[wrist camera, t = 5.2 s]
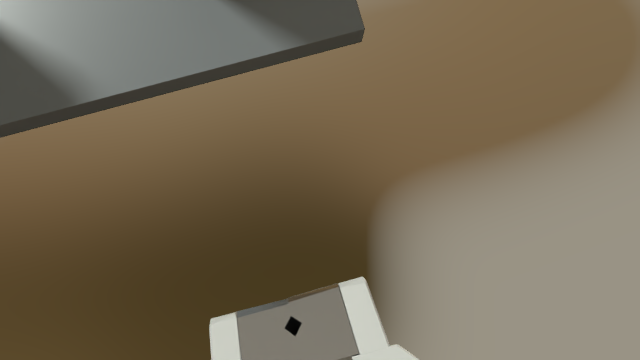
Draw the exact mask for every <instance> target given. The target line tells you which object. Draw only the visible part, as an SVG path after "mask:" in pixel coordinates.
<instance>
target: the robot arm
mask: <svg viewBox="0 0 640 360" xmlns="http://www.w3.org/2000/svg"><path fill="white" fill-rule="evenodd" d="M209 329H210V344H211V359H212V360H419V359H418V358H417V357H415V356H414V355H412V354H411V353H409V352H408V351H407V350H405V349H404V348H403V347H401V346H400V345H398V344H396V345H391V346H390V345H389V342H388V339H387V336H386V334H385V331H384V329H383V325H382V323H381V320H380V317H379V315H378V312H377V309H376V306H375V303H374V301H373V298H372V295H371V292H370V290H369V287H368V284H367V282H366V280H365V279H364V277H360V278H357V279H353V280H349V281H345V282H342V283H339V284H334V285H330V286H327V287H323V288H320V289H316V290H313V291H310V292H306V293H303V294H299V295H296V296H292V297H289V298H288V299H285V300H281V301H277V302H273V303H269V304H266V305H261V306H257V307H253V308H249V309H246V310H242V311H238V312H234V313H231V314H227V315H223V316H219V317H216V318H212V319H211V322H210V326H209Z"/></svg>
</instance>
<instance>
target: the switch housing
mask: <svg viewBox="0 0 640 360" xmlns="http://www.w3.org/2000/svg"><path fill="white" fill-rule="evenodd" d="M364 30H365V28H364V25H363V21H362V18H361V15H360V12H359V8H358V5H357V1H356V0H0V137H4V136H8V135H11V134H15V133H19V132H23V131H26V130H30V129H34V128H38V127H42V126H45V125H49V124H53V123H57V122H61V121H64V120H68V119H72V118H75V117H79V116H83V115H87V114H91V113H95V112H98V111H102V110H106V109H110V108H113V107H117V106H121V105H124V104H128V103H132V102H136V101H140V100H144V99H147V98H151V97H155V96H158V95H162V94H166V93H170V92H173V91H177V90H181V89H185V88H188V87H193V86H196V85H200V84H204V83H208V82H211V81H215V80H219V79H223V78H227V77H230V76H234V75H238V74H242V73H245V72H249V71H253V70H256V69H260V68H264V67H268V66H272V65H275V64H279V63H283V62H287V61H290V60H294V59H298V58H302V57H305V56H309V55H313V54H317V53H321V52H324V51H328V50H332V49H336V48H339V47H343V46H347V45H351V44H355V43H358V42H361V41H362V38H363V34H364Z"/></svg>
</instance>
